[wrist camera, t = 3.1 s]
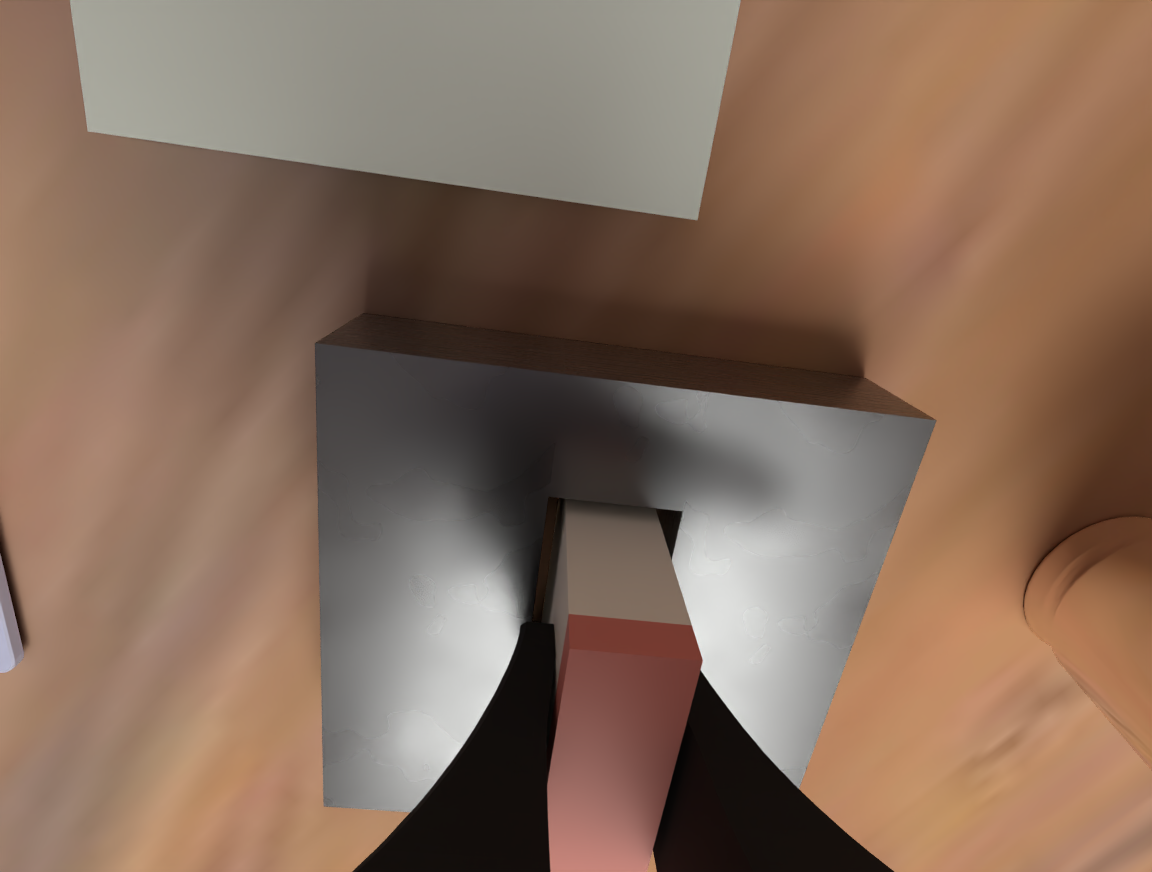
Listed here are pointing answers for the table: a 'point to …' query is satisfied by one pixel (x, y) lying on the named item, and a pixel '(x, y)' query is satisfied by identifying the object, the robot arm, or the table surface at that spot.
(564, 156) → the pad
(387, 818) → the table surface
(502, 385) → the grey plate with slot
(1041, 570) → the cup with straw
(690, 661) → the pink topped brick
